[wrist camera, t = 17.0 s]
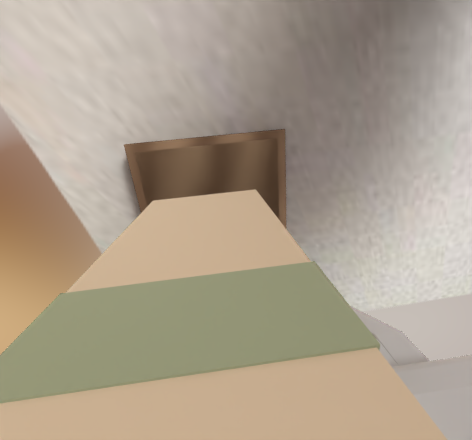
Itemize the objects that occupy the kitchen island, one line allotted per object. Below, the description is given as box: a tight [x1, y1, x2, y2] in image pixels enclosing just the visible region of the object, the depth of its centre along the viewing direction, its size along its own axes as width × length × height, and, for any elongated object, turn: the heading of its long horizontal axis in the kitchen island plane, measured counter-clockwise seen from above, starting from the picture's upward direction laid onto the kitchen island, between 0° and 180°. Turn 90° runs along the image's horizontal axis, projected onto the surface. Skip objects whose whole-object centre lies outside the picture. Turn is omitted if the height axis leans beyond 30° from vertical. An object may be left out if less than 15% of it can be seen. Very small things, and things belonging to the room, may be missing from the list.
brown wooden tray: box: [124, 129, 286, 228], centre depth 26 cm, size 16×13×2 cm
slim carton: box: [0, 189, 447, 440], centre depth 8 cm, size 6×7×13 cm
